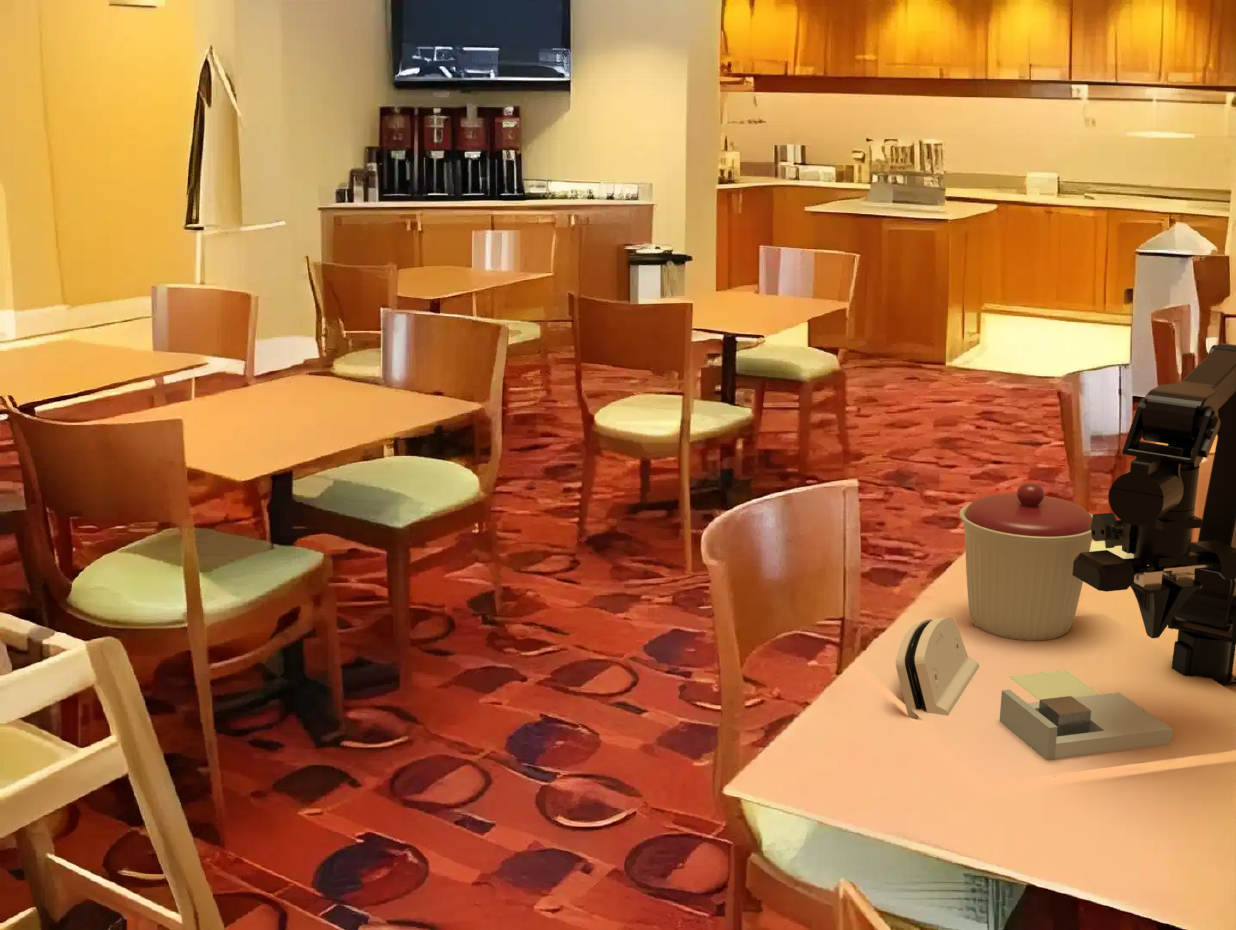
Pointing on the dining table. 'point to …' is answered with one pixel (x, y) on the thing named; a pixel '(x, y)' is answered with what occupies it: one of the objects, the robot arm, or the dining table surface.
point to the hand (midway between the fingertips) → (1152, 637)
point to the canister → (1024, 562)
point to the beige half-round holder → (933, 666)
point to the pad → (1053, 685)
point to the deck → (1109, 730)
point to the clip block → (1066, 715)
